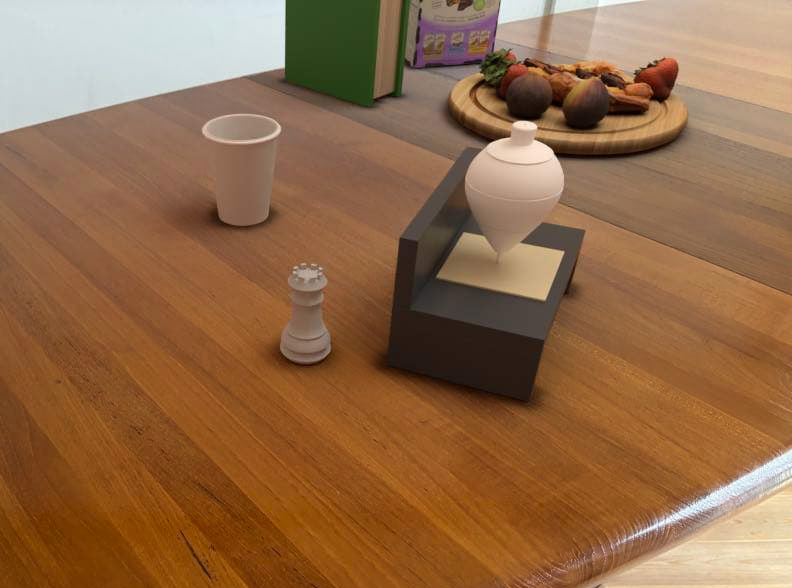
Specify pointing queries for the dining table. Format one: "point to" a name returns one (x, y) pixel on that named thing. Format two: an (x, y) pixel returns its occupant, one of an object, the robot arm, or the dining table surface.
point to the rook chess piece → (306, 318)
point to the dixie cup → (242, 165)
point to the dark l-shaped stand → (476, 294)
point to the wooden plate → (572, 103)
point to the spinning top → (513, 187)
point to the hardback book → (347, 47)
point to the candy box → (450, 31)
